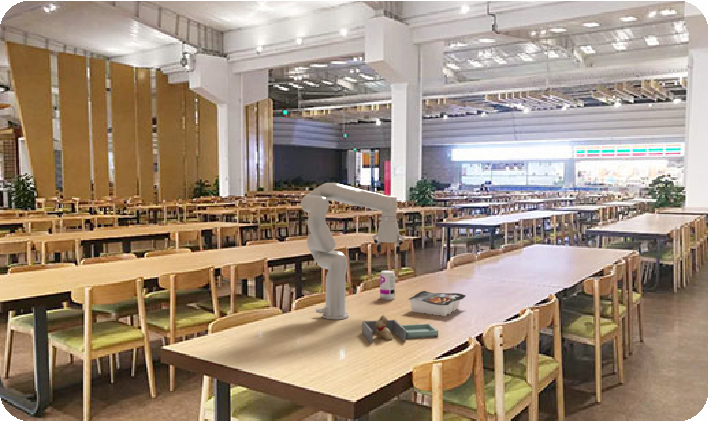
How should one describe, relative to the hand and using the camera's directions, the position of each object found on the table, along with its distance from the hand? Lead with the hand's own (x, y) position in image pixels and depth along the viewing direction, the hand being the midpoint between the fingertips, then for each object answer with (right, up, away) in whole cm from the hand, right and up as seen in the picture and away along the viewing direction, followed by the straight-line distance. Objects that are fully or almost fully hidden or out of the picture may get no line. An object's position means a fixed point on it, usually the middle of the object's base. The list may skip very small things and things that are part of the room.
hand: (388, 253), depth 286 cm
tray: (+10, -31, -47) cm, 57 cm away
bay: (-5, -31, -52) cm, 61 cm away
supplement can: (+1, -27, +24) cm, 36 cm away
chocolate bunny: (-5, -32, -53) cm, 62 cm away
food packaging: (+24, -29, -4) cm, 38 cm away
